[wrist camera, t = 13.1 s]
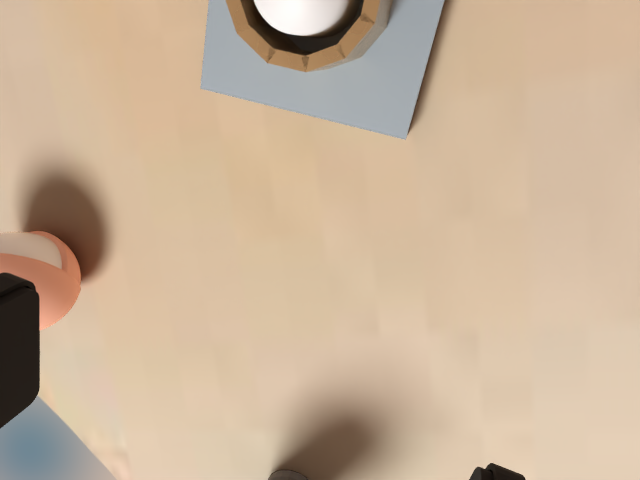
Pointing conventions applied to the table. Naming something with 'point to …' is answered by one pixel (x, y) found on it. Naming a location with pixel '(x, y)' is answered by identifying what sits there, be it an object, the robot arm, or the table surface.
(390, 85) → the block
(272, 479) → the beverage cup
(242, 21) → the ring
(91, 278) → the table surface
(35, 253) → the toy ball
